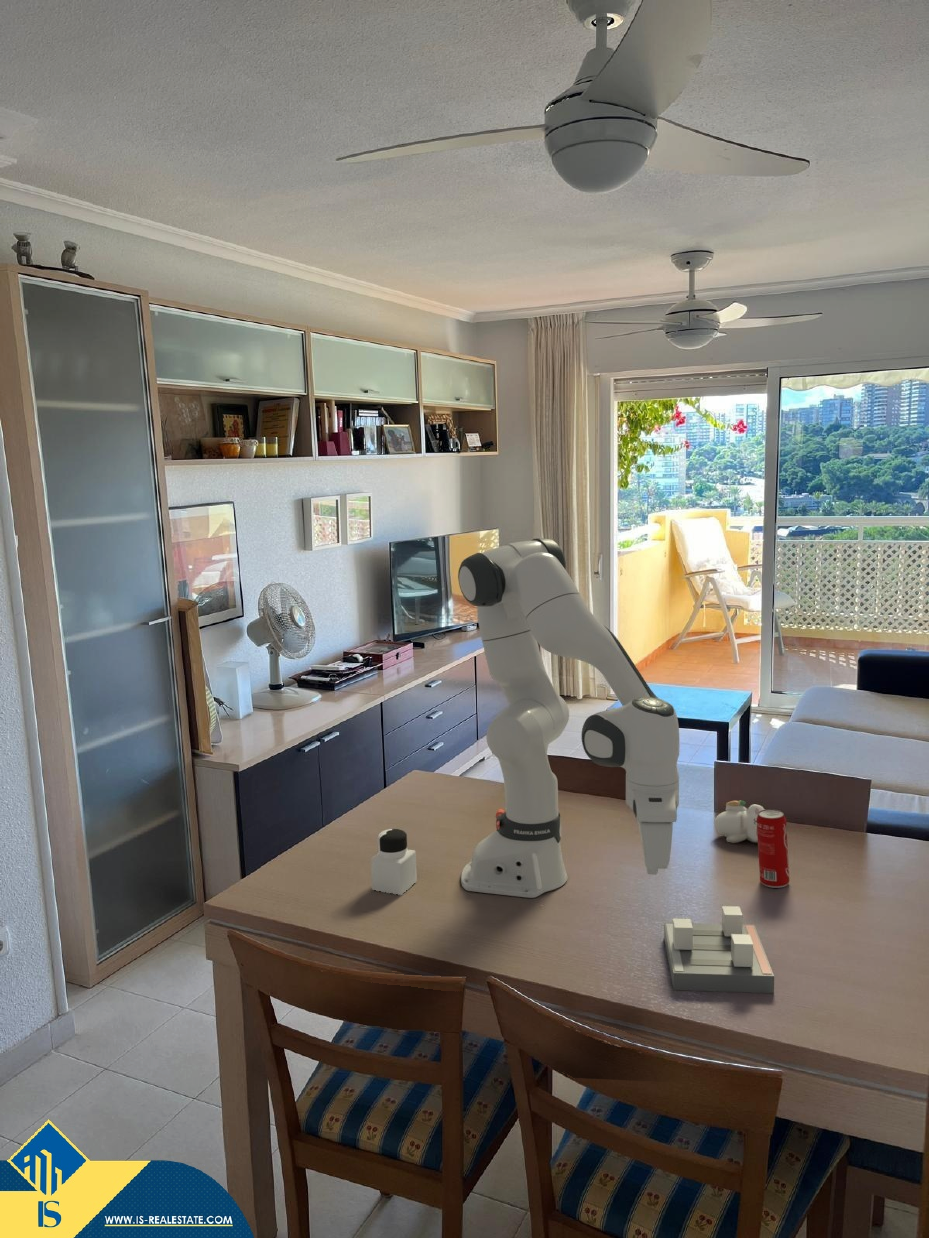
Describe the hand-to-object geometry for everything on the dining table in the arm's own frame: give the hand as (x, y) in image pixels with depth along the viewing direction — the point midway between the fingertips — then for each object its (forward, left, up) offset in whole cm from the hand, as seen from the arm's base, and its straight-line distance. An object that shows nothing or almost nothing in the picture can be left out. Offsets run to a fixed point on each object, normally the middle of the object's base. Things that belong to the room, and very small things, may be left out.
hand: (651, 870), depth 156 cm
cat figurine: (+26, +54, -17) cm, 62 cm away
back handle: (+14, +5, -13) cm, 20 cm away
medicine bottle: (-51, +27, -17) cm, 60 cm away
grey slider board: (+11, 0, -17) cm, 20 cm away
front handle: (+14, -5, -13) cm, 20 cm away
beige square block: (+5, 0, -13) cm, 14 cm away
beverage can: (+27, +32, -17) cm, 45 cm away
